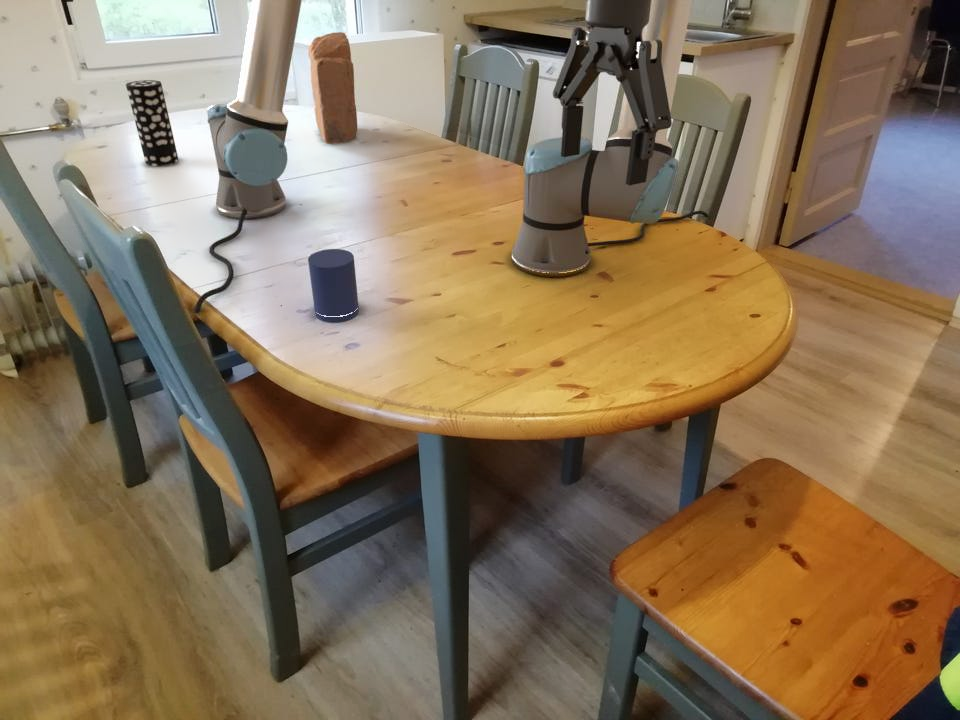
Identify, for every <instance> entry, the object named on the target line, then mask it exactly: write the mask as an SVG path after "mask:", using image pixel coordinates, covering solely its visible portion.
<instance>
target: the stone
mask: <svg viewBox="0 0 960 720" xmlns="http://www.w3.org/2000/svg"><path fill="white" fill-rule="evenodd" d="M308 57H309V60H310V61H309V62H310V82H311V91H312V98H313V99H312V100H313V104H314V115H315V122H316V126H317V129H318V131H319V134H320V136H321V138H322V140H323V141H324V143H325V144H329V145H330V144H331V145H333V144H345V143H348V142H351V141H352V140H356V138H357V134H358V133H357V132H358V112H357V107H356V106H357V105H356V98H355V94H356V93H355V70H354V69H355V68H354V63H353V62H352V53H351V46H350V40H349V38H348V36H347V34H346V33H345V32H342V31H338V32H330V33H325V34H324V35H322V36H316V37H314V39H313V40H312V41H311V43H310V45H309V47H308Z"/></svg>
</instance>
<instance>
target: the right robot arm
mask: <svg viewBox="0 0 960 720" xmlns="http://www.w3.org/2000/svg"><path fill="white" fill-rule="evenodd" d="M692 3H693V0H586V5H585V6H586V7H585V15H584V19H585V23H586V24H587V25H588V26H578V27H577V26H576V27H574V28H573V29H572V32H571V40H570V46H569V48H568V51H567V54H566V56H565V59H564V61H563V63H562V64H563V65H562V67H561V68H560V72H559V75H558V78H557V79H556V82H555V85H554V88H553V90H552V97H553V98H554V99H558V100H559V103H560V105H561V106H562V112H561V130H562V134H561V137H560V136H559V137H553V138H552V137H551V138H548V139H543V140H540V141H538V142H536V143H533V144H532V145H530V147H529V148H528V149H527V152H526V156H525V166H524V169H523V174H524V180H523V204H522V206H523V207H522V222H521V225H520V227H519V230H518V232H517V233H518V234H517V236H516V239H515V242H514V244H513V246H512V249H511V262H512V264H513V265H514V266H515V267H516V268H517V269H519V270H520V271H522V272H524V273H527V274H530V275H533V276H539V277H546V278H564V277H571V276H574V275H578V274H580V273H582V272H584V271H585V270H587V269H588V268H589V266H590V263H591V250H590V247H597V246H599V247H601V246H609V245H621V244H630V243H634V242H637V241H640V240H641V239H642V238H644V237H645V228H646V227H647V226H649V225H651V224H658V223H667V222H676V221H681V220H682V221H683V220H684V219H688V218H690V217H693V216H695V215H702V216H704V217H705V218H708V217H709V214H708V212H706V211H703V210H695V211H692V212H689V213H686V214H684V215H680V216H676V217H666V218H662V217H663V214H664V212H665V210H666V207H667V204H668V202H669V200H670V196H671V194H672V191H673V187H674V184H675V180H676V176H677V172H678V170H679V160H678V159H677V158H676V157H673V149H674V147H673V146H672V144H671V143H670V142H669V140H668V138H667V135H668V129H670V128H671V127H672V124H673V121H672V116H671V115H672V109H673V105H674V98H675V93H676V88H677V81H678V78H679V77H678V76H679V72H680V66H681V62H682V56H683V52H684V51H683V50H684V46H685V40H686V35H687V31H688V30H687V29H688V26H689V19H690V14H691V9H692ZM601 73H606V74H607V75H609V76H613V77H615V79H616V80H617V82H619V83H620V84H621V86H622V88H623V97H622V102H621V107H620V112H619V113H620V114H619V118H618V124H617V129H616V132H614V133H613V134H612V135H610V136H609V137H608V138H606V141H605V147H604V150H598V149H593V144H592V141H591V140H590V139H588V138H583V137H582V129H583V117H584V106H583V105H582V104H584V101H583V98H584V97H585V95H586V94H587V92H588V91H589V90H590V88H591V87H592V86H593V84H594V83H595V81H596V80H597V79H598V77H599V75H601ZM585 217H591V218H599V219H606V220H613V221H621V222H628V223H630V224H635V223H636V224H641V226H640V234H639V235H637V236H636V237H632V238H627V239H618V240H606V241H605V240H604V241H595V242H594V241H593V242H592V241H591V242H589V241H588V237H587V233H586V230H585ZM585 265H586V266H585ZM584 266H585V267H584ZM582 267H583V268H582ZM580 268H582V269H580ZM529 269H530V270H529ZM577 269H579V270H577ZM532 270H534V271H532ZM572 270H576V271H573V272H567V271H572ZM537 271H539V272H537ZM542 272H546V273H542ZM547 272H549V273H547ZM559 272H567V273H559Z"/></svg>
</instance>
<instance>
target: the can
mask: <svg viewBox="0 0 960 720" xmlns="http://www.w3.org/2000/svg"><path fill="white" fill-rule="evenodd" d="M307 262H308V263H307V264H308V270H309V271H308V272H309V277H310V285H311V292H312V300H313V308H314V315H315V317H316V319H318V320H319V321H322V322H324V323H333V324H335V323H336V324H338V323H344V322H347V321H350V320H353V319H354V318H356V317H357V315H358V314H359V312H360V307H359V297H358V286H357V285H358V284H357V277H356V265H355V255H354V254H353V253H352V252H351V251H348V250H345V249H342V248H329V249H323V250H318V251H315V252H314V253H312V254H310V255H309V256H308V258H307ZM357 308H358V309H357ZM356 309H357V310H356ZM355 310H356V311H355ZM354 311H355V312H354ZM316 312H317V313H319V314H321V315H326V316H340V315H346V314H349V313H351V312H353V313H352V314H349V315H347V316H343V317H324V316H321V315H319V314H317V313H316Z"/></svg>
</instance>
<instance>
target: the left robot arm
mask: <svg viewBox="0 0 960 720" xmlns="http://www.w3.org/2000/svg"><path fill="white" fill-rule="evenodd" d="M60 2H61V6H62V11H63V14H64V18H65V20H66V23H67V25H68V26H74V23H73V20H72V16H71V12H70V8H69V5H68V3H74V0H60ZM302 2H303V0H251V5H250V10H249V12H250V13H249V18H248V22H247V23H248V24H247V31H246V37H245V44H244V50H243V56H242V57H243V58H242V62H241V63H242V64H241V70H240V78H239V84H238V90H237V97H236V98H235V100H233V101H232V102H224V103H217V104H216V103H215V104H212V105H209V106H208V108H207V110H206V111H207V112H206V114H207V123H208V126H209V130H210V135H211V140H212V146H213V150H214V156H215V160H216V167H217V169H218V170H217V172H218V185H217V193H216V201H215V206H216V210H217V213H218V214H219V215H221V216H223V217H225V218H229V219H236V220H238V224H237V227H236V230H234V232H233V233H231V234H229V235H228V236H225V237H222V238H221V239H219V240H216V241H215V242H213V243H212V244H211V245H210V246H209V249H208V250H209V254H210V255H211V256H212V257H213V258H215V259H216V260H218V261H220V262H222V263H224V265H226V267H227V271H228V275H227V278H226V280H225V281H224V283H223V284H222V285H221V286H219V287H216V288H213V289H210V290H208V291H206V292H205V293H203V294H202V295H201V296H200V297H199V298H198V300H197V301H196V303H195V305H194V311H193V313H194V314H199V313H200V312H201V308H202V306H203V304H204V302H205V301H206V300H207V299H208V298H209V297H212V296H214V295H217V294H220V293H222V292H224V291H225V290H227V288H229V286H230V285H231V284H232V281H233V280H234V267H233V265H232V262H231V261H230V260H228V259H227V258H226V257H224V256H222V255H220V254H219V253H217V252H215V249H216V248H217V247H218V246H220V245H223V244H225V243H227V242H229V241H232V240H233V239H235V238H236V237H238V236H239V234H240V233H241V232H242V230H243V225H244V221H245V220H253V219H260V218H261V219H262V218H265V217H266V218H267V217H270V216H274V215H276V214H278V213H280V212H282V211H283V210H285V209H286V207H287V199H286V194H285V193H284V191H283V189H282V187H281V184H280V182H279V180H278V179H279V178H280V177H281V176H282V175H283V174H284V172H285V170H286V168H287V165H288V152H287V146H286V145H285V143H286V138H287V137H286V136H287V131H288V125H289V119H288V118H287V116H286V115H285V114H284V112H283V108H284V103H285V97H286V91H287V86H288V79H289V74H290V69H291V63H292V57H293V52H294V46H295V41H296V37H297V36H296V35H297V29H298V23H299V19H300V12H301V7H302Z"/></svg>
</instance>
